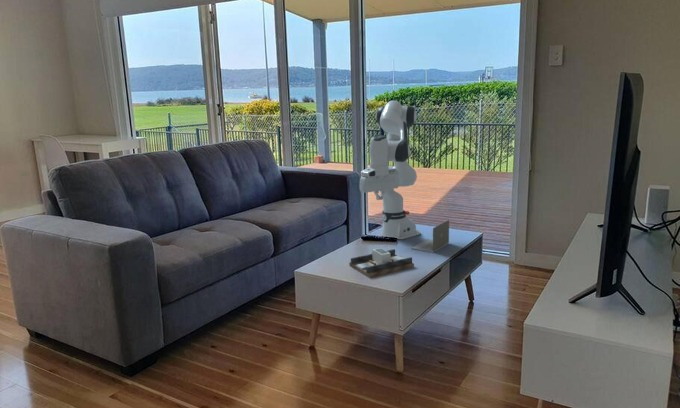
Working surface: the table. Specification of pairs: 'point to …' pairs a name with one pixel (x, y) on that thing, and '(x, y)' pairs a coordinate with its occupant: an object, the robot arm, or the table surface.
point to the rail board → (374, 268)
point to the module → (380, 255)
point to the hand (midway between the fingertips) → (379, 199)
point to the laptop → (435, 239)
